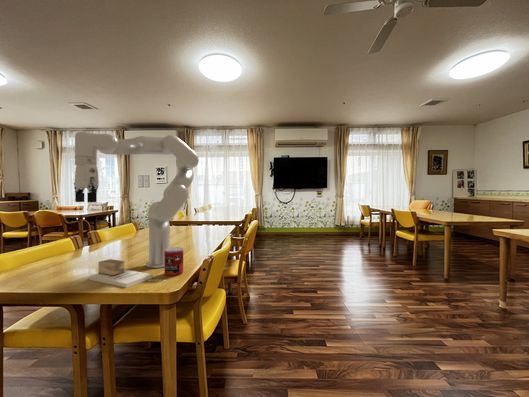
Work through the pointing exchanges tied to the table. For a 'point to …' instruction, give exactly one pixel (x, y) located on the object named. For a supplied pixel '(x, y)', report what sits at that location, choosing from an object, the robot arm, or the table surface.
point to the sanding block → (111, 267)
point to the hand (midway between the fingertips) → (85, 202)
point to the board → (122, 278)
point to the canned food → (173, 261)
